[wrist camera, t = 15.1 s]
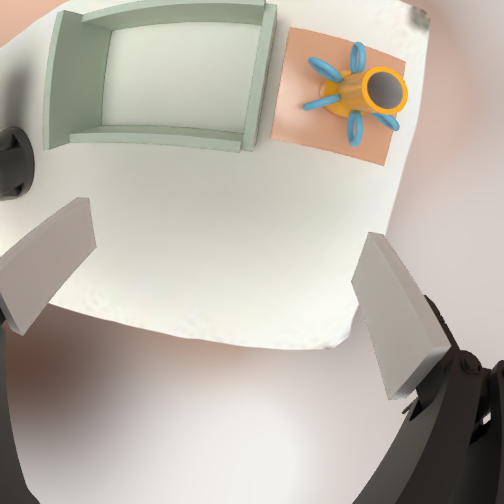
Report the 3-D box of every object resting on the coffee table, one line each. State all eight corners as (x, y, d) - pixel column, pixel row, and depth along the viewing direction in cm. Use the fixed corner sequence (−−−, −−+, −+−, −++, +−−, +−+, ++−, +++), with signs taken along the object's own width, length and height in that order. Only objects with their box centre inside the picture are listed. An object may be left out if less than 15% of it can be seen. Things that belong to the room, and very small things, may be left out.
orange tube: (397, 97, 28) (463, 101, 15) (355, 152, 33) (401, 184, 20) (324, 39, 25) (356, 0, 12) (279, 96, 30) (282, 89, 17)
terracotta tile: (270, 138, 34) (270, 138, 33) (289, 28, 26) (289, 26, 25) (381, 164, 34) (383, 166, 33) (402, 62, 26) (405, 61, 25)
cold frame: (94, 133, 34) (43, 149, 24) (107, 25, 25) (57, 12, 15) (255, 144, 34) (246, 162, 24) (276, 19, 25) (276, -16, 15)
